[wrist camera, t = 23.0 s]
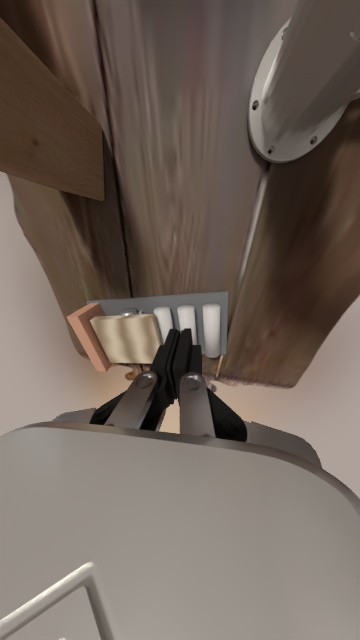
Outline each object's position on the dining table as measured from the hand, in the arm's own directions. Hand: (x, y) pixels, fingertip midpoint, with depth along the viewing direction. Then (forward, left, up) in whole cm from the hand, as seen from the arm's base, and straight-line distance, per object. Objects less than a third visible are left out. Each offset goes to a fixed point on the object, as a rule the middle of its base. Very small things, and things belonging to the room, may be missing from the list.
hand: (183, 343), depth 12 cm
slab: (+18, +14, -20) cm, 30 cm away
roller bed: (+12, +14, -25) cm, 31 cm away
